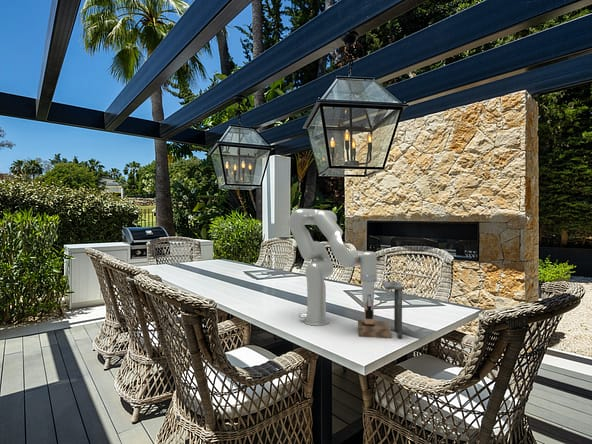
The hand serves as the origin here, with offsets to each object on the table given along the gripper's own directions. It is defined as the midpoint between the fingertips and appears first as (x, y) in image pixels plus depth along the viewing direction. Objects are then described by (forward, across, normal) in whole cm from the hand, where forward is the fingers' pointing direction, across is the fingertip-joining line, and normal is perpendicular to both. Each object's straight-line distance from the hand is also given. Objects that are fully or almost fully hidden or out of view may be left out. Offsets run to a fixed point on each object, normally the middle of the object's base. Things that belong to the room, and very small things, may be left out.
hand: (368, 316), depth 155 cm
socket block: (+8, 0, +5) cm, 9 cm away
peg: (+3, 0, 0) cm, 3 cm away
